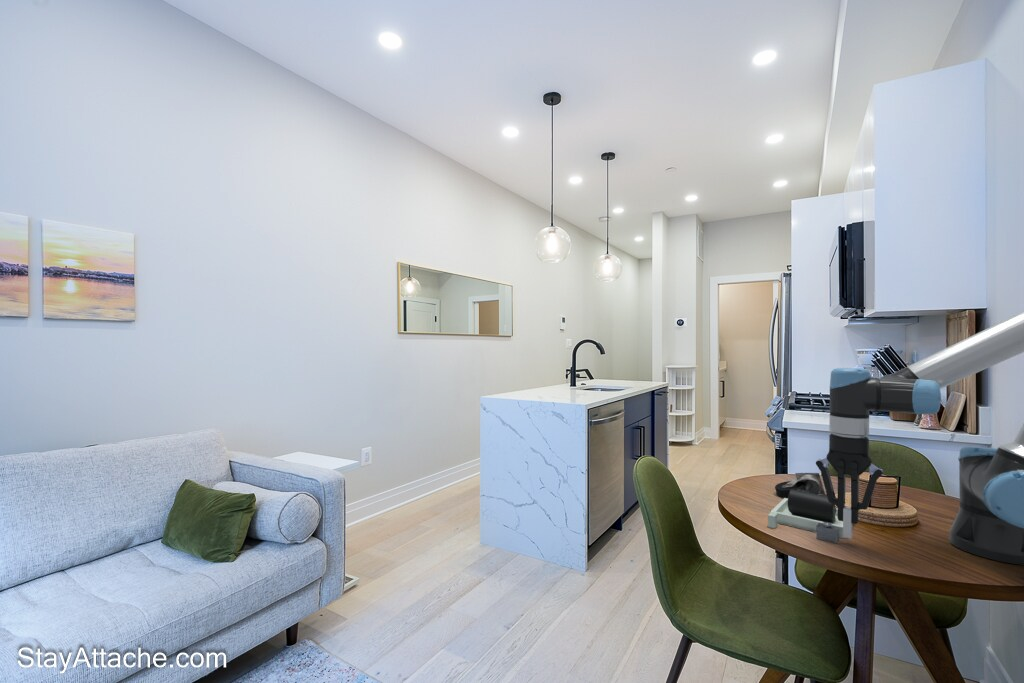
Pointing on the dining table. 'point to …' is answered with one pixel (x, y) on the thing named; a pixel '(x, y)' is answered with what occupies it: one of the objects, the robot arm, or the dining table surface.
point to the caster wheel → (801, 484)
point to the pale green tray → (797, 519)
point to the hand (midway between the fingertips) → (847, 535)
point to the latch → (827, 532)
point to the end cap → (811, 506)
